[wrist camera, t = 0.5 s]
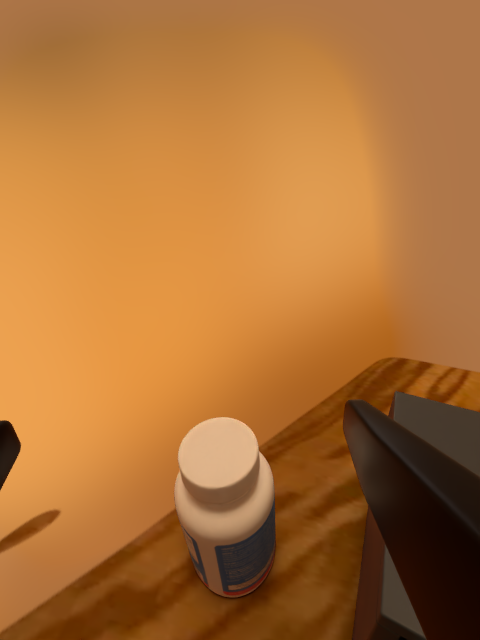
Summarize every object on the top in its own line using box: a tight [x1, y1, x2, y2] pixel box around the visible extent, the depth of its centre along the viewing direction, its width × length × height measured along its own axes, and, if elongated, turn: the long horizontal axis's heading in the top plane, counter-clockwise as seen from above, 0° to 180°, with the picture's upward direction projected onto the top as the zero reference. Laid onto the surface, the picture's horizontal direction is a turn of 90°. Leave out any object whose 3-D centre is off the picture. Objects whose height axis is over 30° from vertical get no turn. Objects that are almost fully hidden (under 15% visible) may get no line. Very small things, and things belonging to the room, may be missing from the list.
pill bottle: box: [174, 417, 276, 597], centre depth 17 cm, size 6×5×10 cm
